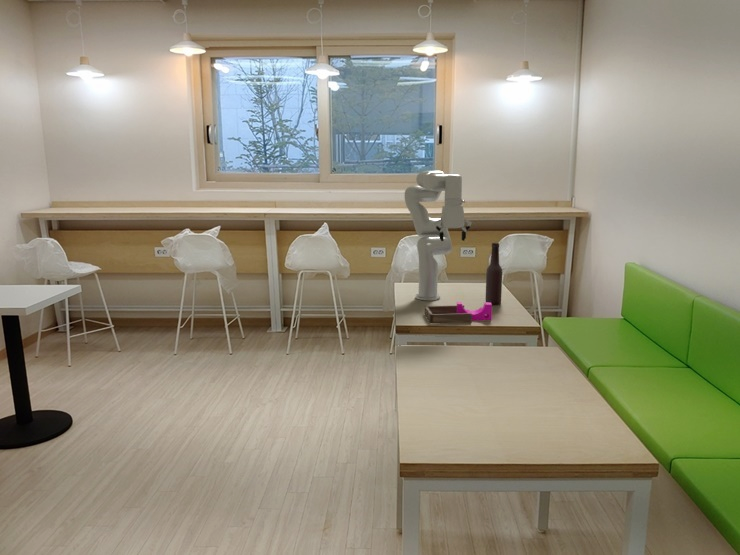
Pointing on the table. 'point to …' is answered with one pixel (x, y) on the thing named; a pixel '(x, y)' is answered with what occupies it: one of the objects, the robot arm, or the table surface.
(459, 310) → the magenta curved block
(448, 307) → the walnut bay
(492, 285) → the beer bottle
